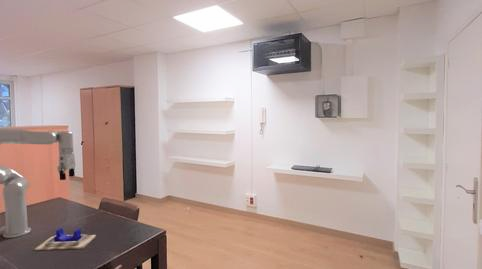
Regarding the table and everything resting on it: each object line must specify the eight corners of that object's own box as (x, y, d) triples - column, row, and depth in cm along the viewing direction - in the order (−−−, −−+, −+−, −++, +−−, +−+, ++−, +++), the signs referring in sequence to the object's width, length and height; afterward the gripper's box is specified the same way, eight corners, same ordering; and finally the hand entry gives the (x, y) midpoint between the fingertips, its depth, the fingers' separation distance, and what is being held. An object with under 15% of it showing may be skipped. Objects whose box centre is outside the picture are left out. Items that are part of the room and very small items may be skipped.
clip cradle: (34, 250, 135) (34, 245, 135) (51, 237, 149) (51, 233, 149) (83, 248, 137) (83, 243, 137) (95, 236, 151) (95, 232, 151)
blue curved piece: (54, 242, 142) (53, 231, 141) (60, 238, 146) (60, 228, 146) (75, 243, 141) (74, 232, 140) (81, 239, 145) (80, 229, 145)
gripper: (64, 152, 156) (65, 181, 157) (79, 149, 173) (80, 174, 174) (51, 152, 155) (52, 181, 156) (67, 149, 172) (69, 175, 173)
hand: (67, 177), depth 165 cm, fingers open, 9 cm apart
